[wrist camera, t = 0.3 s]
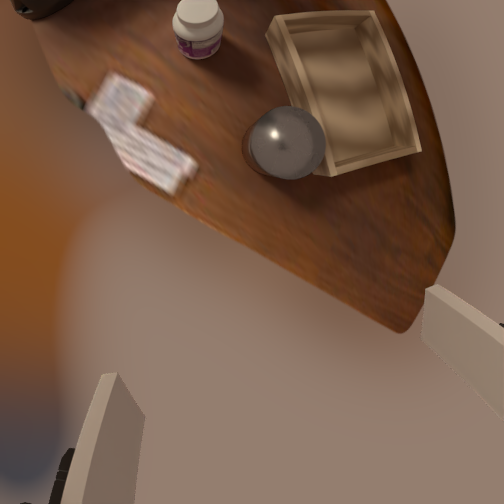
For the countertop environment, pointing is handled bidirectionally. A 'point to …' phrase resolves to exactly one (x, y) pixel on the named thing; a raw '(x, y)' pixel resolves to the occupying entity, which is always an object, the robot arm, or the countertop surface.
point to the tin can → (284, 143)
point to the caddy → (345, 86)
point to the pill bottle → (198, 28)
